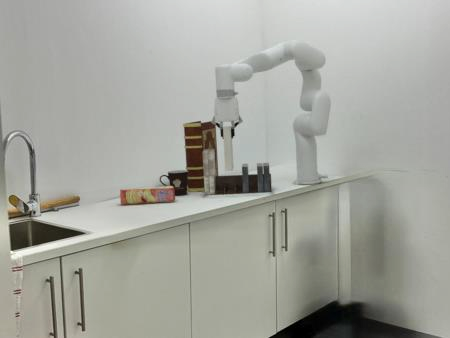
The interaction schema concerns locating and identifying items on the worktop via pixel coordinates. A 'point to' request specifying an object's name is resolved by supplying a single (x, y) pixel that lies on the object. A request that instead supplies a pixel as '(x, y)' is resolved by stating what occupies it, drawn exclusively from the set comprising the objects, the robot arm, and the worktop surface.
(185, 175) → the coffee mug
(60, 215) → the worktop surface
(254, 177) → the book rack
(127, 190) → the snack package
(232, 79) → the robot arm
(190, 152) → the decorative book
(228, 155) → the ivory book
